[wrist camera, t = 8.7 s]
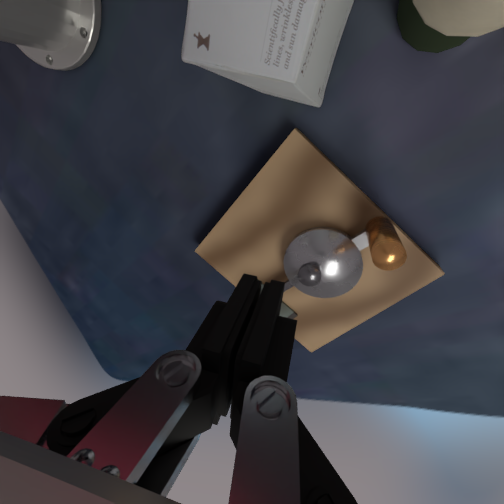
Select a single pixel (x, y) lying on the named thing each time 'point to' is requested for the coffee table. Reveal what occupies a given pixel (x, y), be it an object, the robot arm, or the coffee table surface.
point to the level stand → (302, 218)
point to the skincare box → (268, 43)
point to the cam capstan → (339, 257)
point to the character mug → (447, 21)
